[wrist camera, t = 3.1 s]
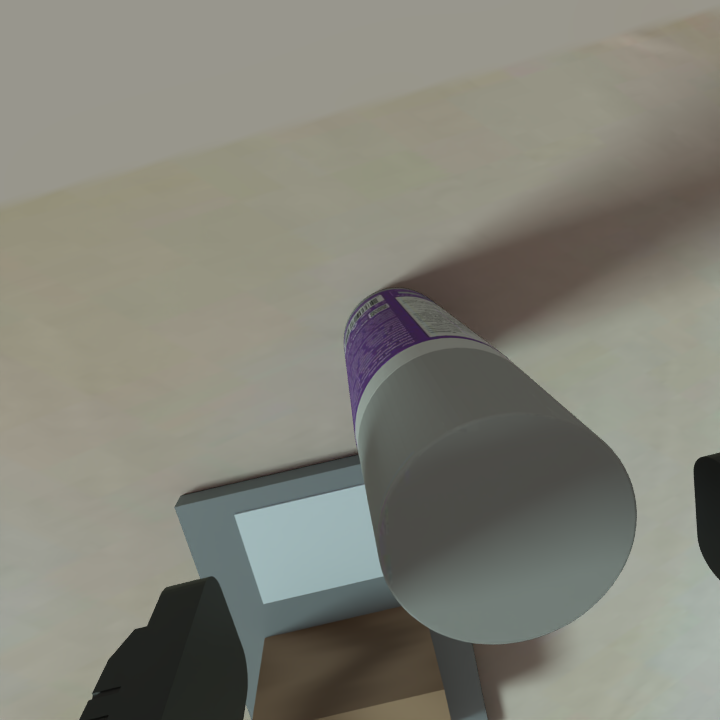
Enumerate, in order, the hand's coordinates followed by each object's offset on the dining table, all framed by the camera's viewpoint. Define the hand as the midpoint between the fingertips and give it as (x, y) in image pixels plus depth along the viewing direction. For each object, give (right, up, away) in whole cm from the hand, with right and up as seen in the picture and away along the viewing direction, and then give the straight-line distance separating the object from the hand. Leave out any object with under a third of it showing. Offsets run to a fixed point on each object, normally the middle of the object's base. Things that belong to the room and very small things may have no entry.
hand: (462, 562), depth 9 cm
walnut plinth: (-2, -13, +19) cm, 23 cm away
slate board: (-2, -10, +18) cm, 21 cm away
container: (0, +4, +15) cm, 15 cm away
